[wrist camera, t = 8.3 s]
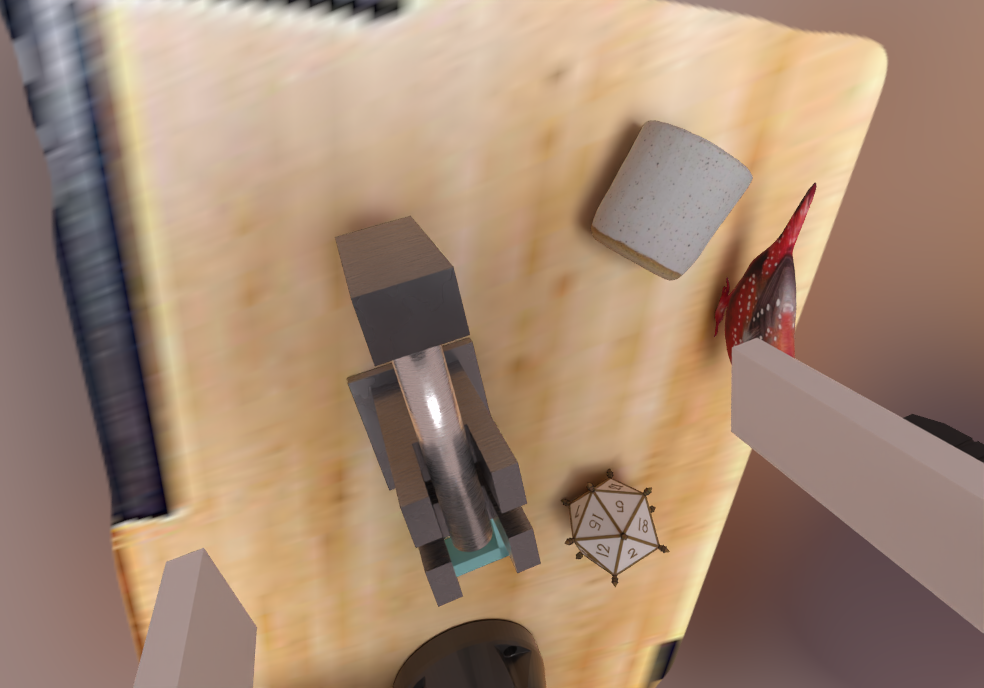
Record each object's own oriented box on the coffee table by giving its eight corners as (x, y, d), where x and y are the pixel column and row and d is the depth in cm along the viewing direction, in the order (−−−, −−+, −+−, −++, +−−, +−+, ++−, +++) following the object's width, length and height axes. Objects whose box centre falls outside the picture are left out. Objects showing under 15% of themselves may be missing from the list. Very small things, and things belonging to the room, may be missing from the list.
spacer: (489, 468, 46) (504, 527, 49) (407, 499, 44) (429, 557, 48) (501, 492, 43) (516, 552, 46) (414, 525, 42) (437, 585, 45)
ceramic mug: (565, 226, 38) (623, 258, 32) (625, 113, 36) (699, 123, 30) (669, 279, 43) (738, 316, 37) (727, 182, 41) (810, 203, 35)
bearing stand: (495, 443, 45) (562, 566, 33) (388, 483, 43) (421, 626, 32) (469, 337, 40) (537, 439, 29) (346, 378, 38) (369, 502, 27)
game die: (591, 460, 54) (693, 503, 49) (559, 543, 53) (660, 596, 48) (562, 450, 46) (680, 500, 41) (524, 547, 45) (640, 610, 40)
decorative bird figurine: (687, 378, 48) (772, 444, 40) (733, 168, 41) (850, 193, 32) (715, 375, 49) (804, 438, 41) (764, 168, 42) (886, 192, 33)
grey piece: (483, 482, 38) (531, 585, 30) (427, 503, 37) (462, 615, 30) (410, 215, 29) (453, 267, 21) (334, 237, 28) (350, 298, 20)
